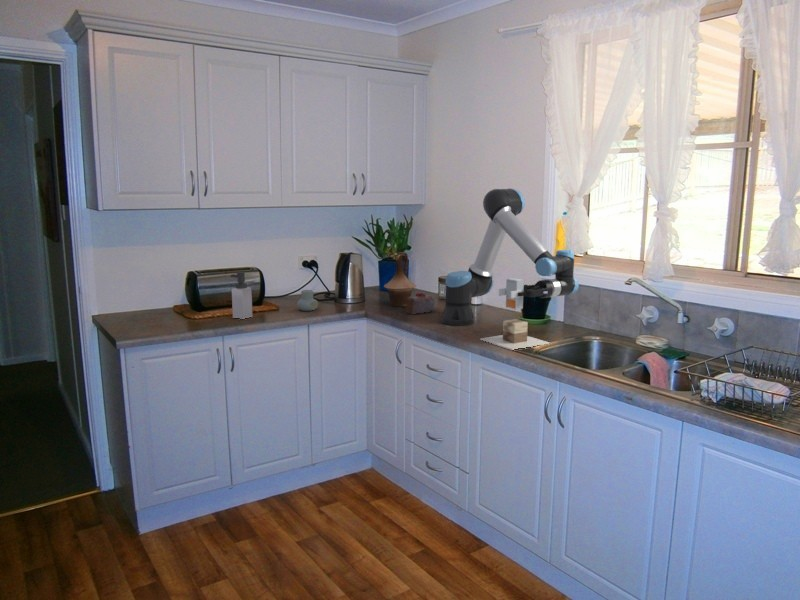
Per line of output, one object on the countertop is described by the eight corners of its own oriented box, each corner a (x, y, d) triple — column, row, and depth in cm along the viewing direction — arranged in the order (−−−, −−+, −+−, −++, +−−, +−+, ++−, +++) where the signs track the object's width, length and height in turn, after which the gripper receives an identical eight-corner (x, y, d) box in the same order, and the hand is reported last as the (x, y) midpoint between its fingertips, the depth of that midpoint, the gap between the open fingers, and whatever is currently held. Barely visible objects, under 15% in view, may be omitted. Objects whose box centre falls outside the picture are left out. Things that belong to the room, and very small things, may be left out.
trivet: (480, 339, 266) (480, 338, 266) (516, 334, 276) (516, 332, 276) (512, 350, 249) (512, 349, 249) (550, 344, 259) (550, 342, 259)
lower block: (502, 339, 263) (502, 330, 263) (515, 337, 267) (515, 328, 266) (514, 343, 258) (514, 333, 257) (527, 341, 261) (527, 331, 260)
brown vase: (393, 300, 352) (393, 250, 346) (421, 303, 344) (422, 251, 339) (378, 306, 336) (378, 253, 331) (407, 309, 329) (407, 255, 323)
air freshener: (307, 307, 332) (306, 288, 330) (320, 309, 328) (320, 289, 327) (294, 311, 323) (293, 291, 321) (307, 312, 319) (307, 293, 317)
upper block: (502, 330, 263) (503, 320, 262) (515, 328, 266) (516, 319, 265) (514, 333, 257) (514, 324, 256) (527, 331, 260) (527, 322, 260)
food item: (425, 309, 328) (425, 290, 327) (435, 312, 322) (436, 292, 321) (404, 312, 320) (404, 293, 318) (415, 315, 314) (415, 295, 312)
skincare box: (505, 307, 262) (505, 278, 260) (512, 306, 264) (513, 277, 262) (515, 309, 257) (516, 280, 255) (523, 308, 259) (524, 279, 257)
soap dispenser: (238, 315, 312) (236, 270, 308) (252, 317, 308) (250, 272, 304) (229, 318, 306) (227, 272, 302) (243, 319, 302) (241, 273, 298)
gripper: (563, 300, 261) (520, 306, 249) (531, 294, 277) (489, 299, 265) (564, 282, 260) (521, 287, 248) (531, 277, 276) (489, 281, 264)
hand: (505, 293), depth 257 cm, fingers closed on skincare box, 6 cm apart
